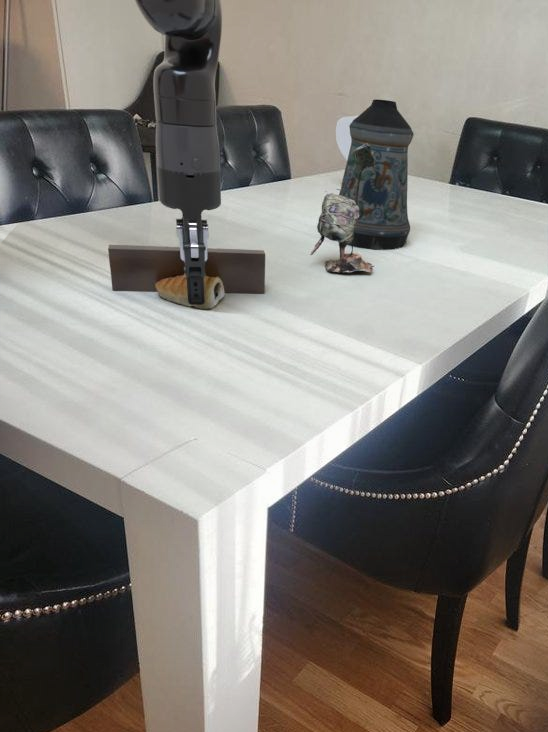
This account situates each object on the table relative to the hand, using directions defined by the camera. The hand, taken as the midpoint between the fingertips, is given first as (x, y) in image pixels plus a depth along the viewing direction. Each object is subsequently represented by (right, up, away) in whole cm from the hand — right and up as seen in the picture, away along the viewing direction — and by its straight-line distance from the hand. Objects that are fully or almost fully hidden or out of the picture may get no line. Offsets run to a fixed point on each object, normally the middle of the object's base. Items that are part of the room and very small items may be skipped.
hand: (196, 302), depth 89 cm
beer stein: (+24, +26, +47) cm, 59 cm away
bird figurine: (+19, +13, +26) cm, 35 cm away
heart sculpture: (+22, +54, +88) cm, 106 cm away
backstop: (-3, +4, +8) cm, 10 cm away
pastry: (-2, +2, +5) cm, 5 cm away
